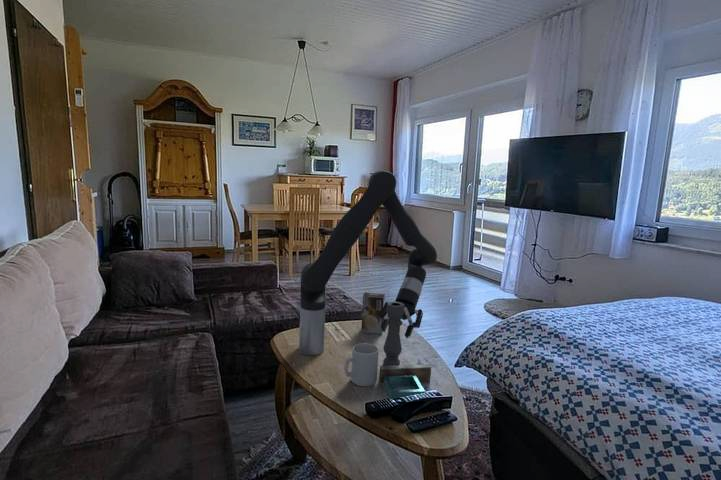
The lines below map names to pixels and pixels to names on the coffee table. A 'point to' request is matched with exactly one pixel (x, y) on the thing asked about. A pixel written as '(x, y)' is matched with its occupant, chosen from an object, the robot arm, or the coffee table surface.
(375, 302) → the coffee box
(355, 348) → the mug
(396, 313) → the candle holder
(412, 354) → the coffee table surface
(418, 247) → the robot arm
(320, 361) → the coffee table surface
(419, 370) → the door edge rail
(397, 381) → the frame
